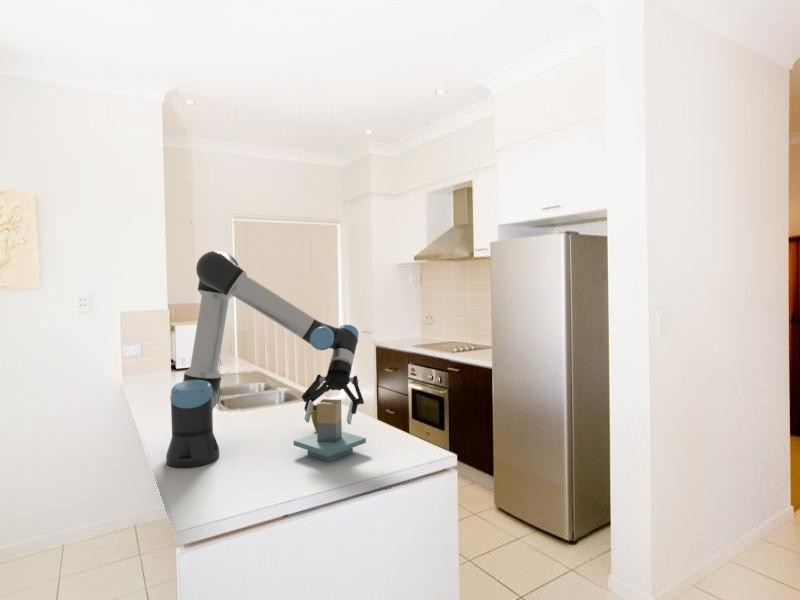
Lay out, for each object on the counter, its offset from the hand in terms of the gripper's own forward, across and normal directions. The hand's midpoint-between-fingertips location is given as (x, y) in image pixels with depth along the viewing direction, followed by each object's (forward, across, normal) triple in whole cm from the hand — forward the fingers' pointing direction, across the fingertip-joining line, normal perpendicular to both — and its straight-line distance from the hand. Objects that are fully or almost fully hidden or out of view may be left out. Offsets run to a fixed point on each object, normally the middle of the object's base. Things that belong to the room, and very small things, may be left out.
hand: (327, 421), depth 157 cm
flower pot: (-9, +10, -25) cm, 28 cm away
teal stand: (+6, 0, -9) cm, 11 cm away
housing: (+3, 0, -6) cm, 7 cm away
